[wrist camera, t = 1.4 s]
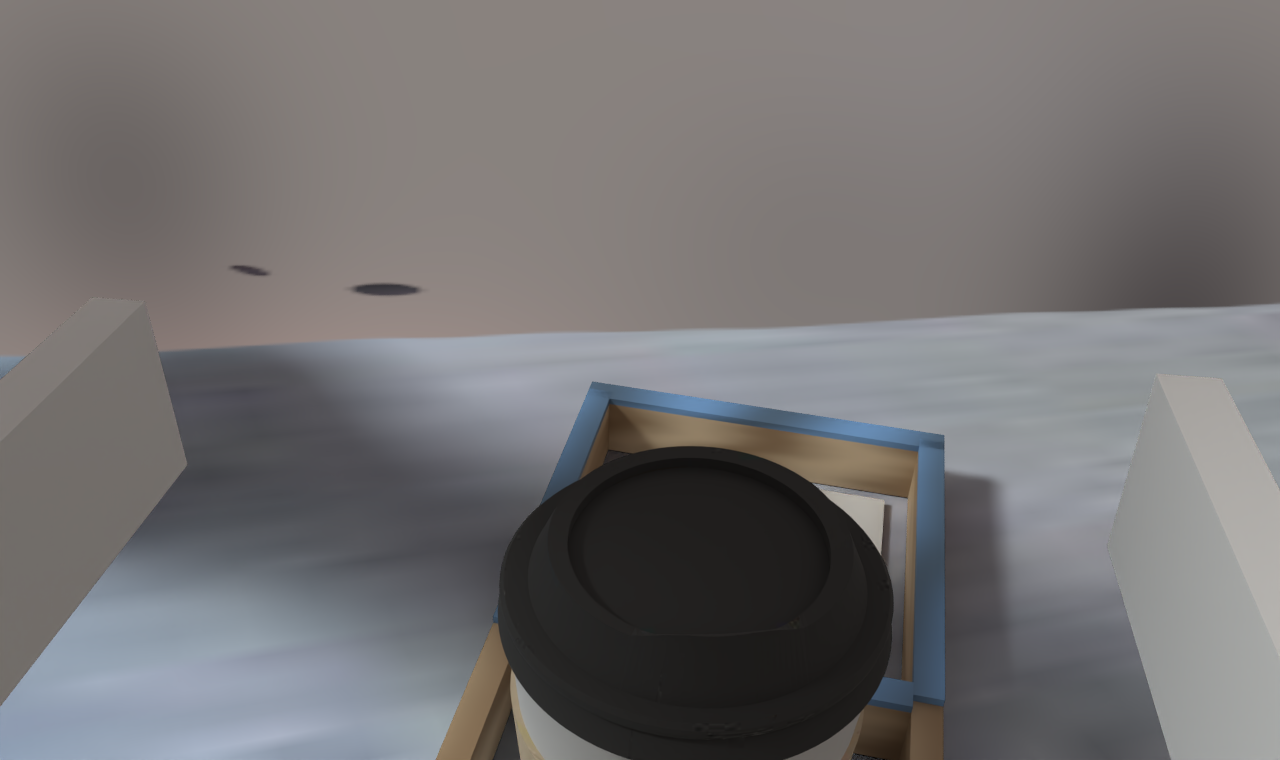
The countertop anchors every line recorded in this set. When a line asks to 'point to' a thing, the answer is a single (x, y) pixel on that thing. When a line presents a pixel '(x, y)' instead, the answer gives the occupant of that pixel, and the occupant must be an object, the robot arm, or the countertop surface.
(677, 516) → the coffee cup
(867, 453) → the oak rack
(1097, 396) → the countertop surface
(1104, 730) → the countertop surface
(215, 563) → the countertop surface
